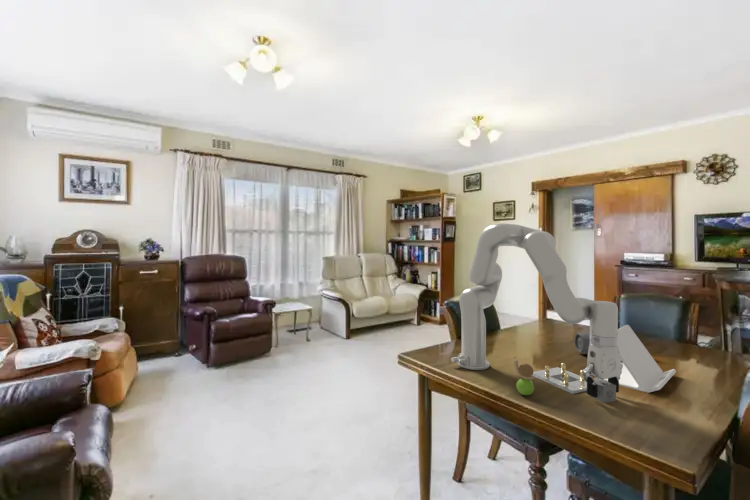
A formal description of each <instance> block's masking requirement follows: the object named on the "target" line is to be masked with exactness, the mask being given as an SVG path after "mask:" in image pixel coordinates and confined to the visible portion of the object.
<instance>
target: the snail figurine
mask: <svg viewBox="0 0 750 500" xmlns="http://www.w3.org/2000/svg"><path fill="white" fill-rule="evenodd" d="M516 358H517V356H516V355H514V356H513V364H514V369H515V372H516V374H517V376H519V377H520V378H519V379H517V381H516V384H515V386H516V389H517V392H518V393H519V394H521V395H522V396H530V395H532V394H533V393H534V392H535V385H534V382H533V381H532V380H533V379H534V376H532V375H533V372H534V368H533V367H532V366H531V365H530V364H529V363H525V362H524V363H521V364H520V365H519V361H518V360H517V359H516Z"/></svg>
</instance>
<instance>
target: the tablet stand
mask: <svg viewBox="0 0 750 500" xmlns="http://www.w3.org/2000/svg"><path fill="white" fill-rule="evenodd" d="M618 346H619V350H620V357H621V364H623V368H622V370H621V371H622V373H621V375H620V380H619V387H624V388H628V389H632V390H636V391H640V392H644V393H647V394H648V393H649V394H650V393H652V392H657V391H660V390H661V389H662V388H663V387H664V386H665V385H666V384H667V383H668V381H669V380H670V379H671V378H673V376H674V375H675V373H676V372H677V371H676V369H675V368H673V369H669V370H667V371H663V370H662V368H661V367H660V366H659V364H658V363H657V362H656V360H655V359H654V357H653V356H652V355H651V354H650V352H649V351H648V349H647V347H645V345H644V344H643V342H642V341H641V340H640V338H639V337H638V335H636V333H635V332H634V330H633V329H632V327H631V326H630V325H629V324H625V325H622V327H620V328H618ZM598 380H605V381H607V382H608V378H607V379H600V378H599V379H598Z"/></svg>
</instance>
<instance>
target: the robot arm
mask: <svg viewBox="0 0 750 500" xmlns="http://www.w3.org/2000/svg"><path fill="white" fill-rule="evenodd" d="M500 247H516V248H520V249H523V250H524V251H525V253H526V255H528V257H529V259H530V260H531V262H532V264H533V265H534V267H535V269H536V270H537V271H538V274H539V275H540V277H541V279H542V283H543V286H544V291H545V292H546V295H547V298H548V299H549V302H550V304H551V305H552V307H553V308H554V310H555V312H556V313H557V315H558V316H559V317H560V318H561V320H563V321H564V323H565V322H566V323H567V324H570V325H577V324H580V323H582V322H584V321H587V320H588V321H589V333H590V345H589V350H588V353H587V361H586V367H585V368H584V369H582V370H583V371H582V373H583V376H584V379H585V381H586V382H587V391H586V394H587V395H588V396H589V397H591V396H592V397H591V398H593V397H595V398H597V397H598V385H596V383H597V381H598V380H599V378H600V379H607V378H608V382H609V383H612V384H614V385H616V394H617V393H619V391H620V385H619V380H620V375H621V373H622V371H621V370H622V368H623V364H621V363H622V361H621V357H620V350H619V346H618V329H619V328H618V327H619V326H618V325H619V308H618V304H617V303H615V302H612V301H607V300H594V299H593V300H592V299H588V298H583V297H576V296H575V295H574V293H573V291H572V290H571V288H570V285H569V284H568V280H567V279H568V278H567V266H566V265H565V263H564V261H563V260H562V257H560V255H559V254H558V252H557V250H556V249H555V247H556V239H555V238H554V236H553V235H552V233H550V232H548V231H543V230H539V229H535V228H532V227H527V226H525V225H520V224H515V223H505V222H504V223H494V224H492V225H489V226H487V227H486V228H485V229H483V230H482V232H481V234H480V235H479V237H478V241H477V245H476V249H475V253H474V256H473V259H472V264H471V266H470V269H469V275H468V276H469V281H470V282H471V284H473V285H475V286H472V287H471V286H470V287H469V288H465V289H464V290H463V291H462V292H461V293H460V295H459V300H458V301H459V309H460V314H461V315H460V317H461V325H460V326H461V352H460V353H459V354H458V356H454V357H451V358H450V360H451V363H457V365H458V366H459V367H461V368H463V369H466V370H470V371H482V370H483V371H484V370H487V369H489V368H490V367H491V363H490V362H489V360H487V357H486V355H487V354H486V353H487V349H486V348H487V344H486V343H487V340H486V339H487V321H486V315H485V312H484V310H485V309H486V308H489V307H491V306H492V305H493V304H494V303H495V301H496V298H497V295H498V292H499V289H500V285H501V282H502V278H503V270H502V267H501V266H500V265H499V264H498V263H497V260H498V256H499V248H500ZM592 377H593V378H592ZM595 398H594V399H595Z"/></svg>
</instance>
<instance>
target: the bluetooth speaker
mask: <svg viewBox="0 0 750 500" xmlns="http://www.w3.org/2000/svg"><path fill="white" fill-rule="evenodd" d="M573 343H574V346H575V349H576V351H577V352H579V353H583V354H588V350H589V345H590V332H577V333H575V336H574V340H573Z"/></svg>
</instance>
